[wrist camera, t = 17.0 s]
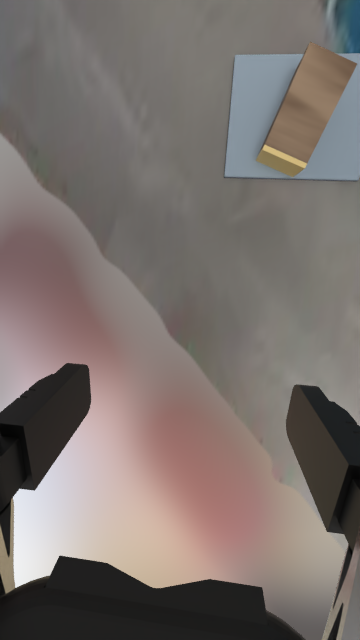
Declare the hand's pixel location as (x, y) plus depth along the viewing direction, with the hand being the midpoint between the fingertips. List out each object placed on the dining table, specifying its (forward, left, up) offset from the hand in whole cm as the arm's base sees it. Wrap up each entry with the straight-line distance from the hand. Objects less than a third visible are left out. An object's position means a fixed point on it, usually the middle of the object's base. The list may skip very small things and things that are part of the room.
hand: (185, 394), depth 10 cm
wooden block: (-11, -23, -26) cm, 36 cm away
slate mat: (-10, -19, -28) cm, 36 cm away
